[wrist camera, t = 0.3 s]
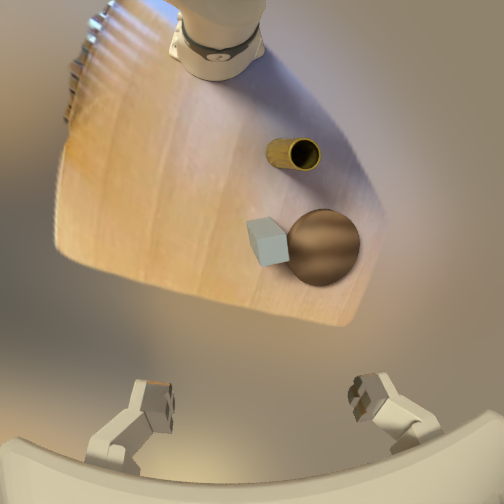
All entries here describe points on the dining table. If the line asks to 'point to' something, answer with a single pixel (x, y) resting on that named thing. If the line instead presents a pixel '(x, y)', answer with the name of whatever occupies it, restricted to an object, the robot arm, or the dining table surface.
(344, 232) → the walnut base
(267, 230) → the gray block
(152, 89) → the dining table surface
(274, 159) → the vase
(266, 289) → the dining table surface
